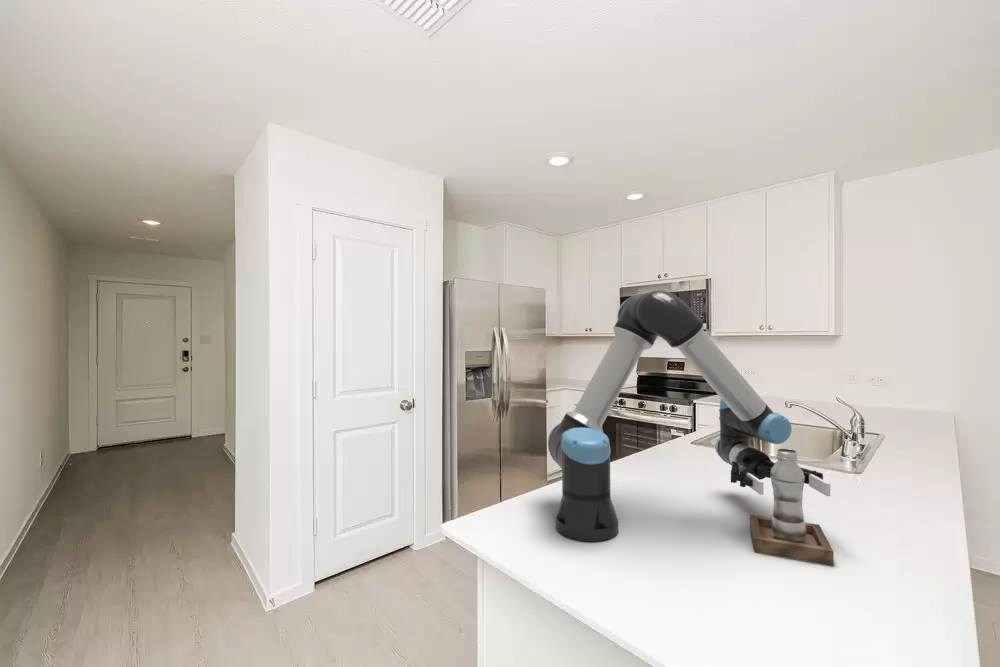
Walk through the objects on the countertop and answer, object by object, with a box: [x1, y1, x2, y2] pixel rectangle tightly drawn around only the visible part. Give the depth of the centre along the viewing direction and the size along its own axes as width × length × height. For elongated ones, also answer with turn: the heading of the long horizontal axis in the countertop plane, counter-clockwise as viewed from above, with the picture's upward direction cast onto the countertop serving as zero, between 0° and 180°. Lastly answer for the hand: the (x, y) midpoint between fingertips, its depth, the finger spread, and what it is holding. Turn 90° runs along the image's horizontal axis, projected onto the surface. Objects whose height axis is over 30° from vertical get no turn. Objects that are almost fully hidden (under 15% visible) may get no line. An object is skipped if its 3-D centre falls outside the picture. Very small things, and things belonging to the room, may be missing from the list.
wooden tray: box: [749, 514, 835, 567], centre depth 100 cm, size 14×14×3 cm
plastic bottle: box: [770, 448, 807, 543], centre depth 100 cm, size 6×7×20 cm
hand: (795, 489), depth 96 cm, fingers open, 13 cm apart
